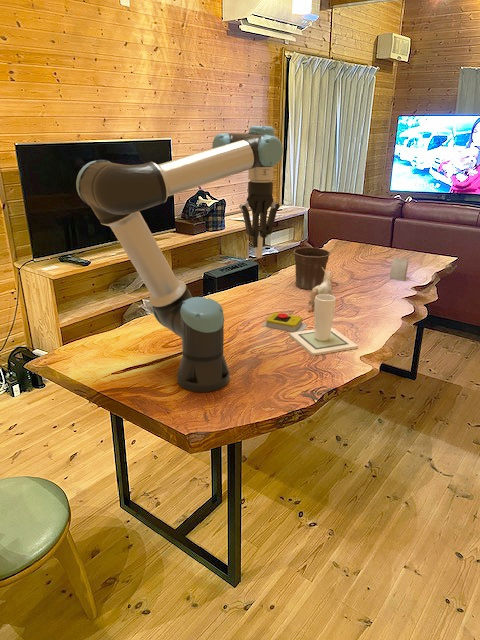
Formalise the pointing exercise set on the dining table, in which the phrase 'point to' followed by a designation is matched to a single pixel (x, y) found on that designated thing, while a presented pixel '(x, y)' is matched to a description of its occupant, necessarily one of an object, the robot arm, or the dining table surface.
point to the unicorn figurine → (321, 288)
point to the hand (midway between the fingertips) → (258, 256)
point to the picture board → (322, 342)
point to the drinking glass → (323, 316)
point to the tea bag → (399, 269)
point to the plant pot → (310, 266)
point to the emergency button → (285, 322)
